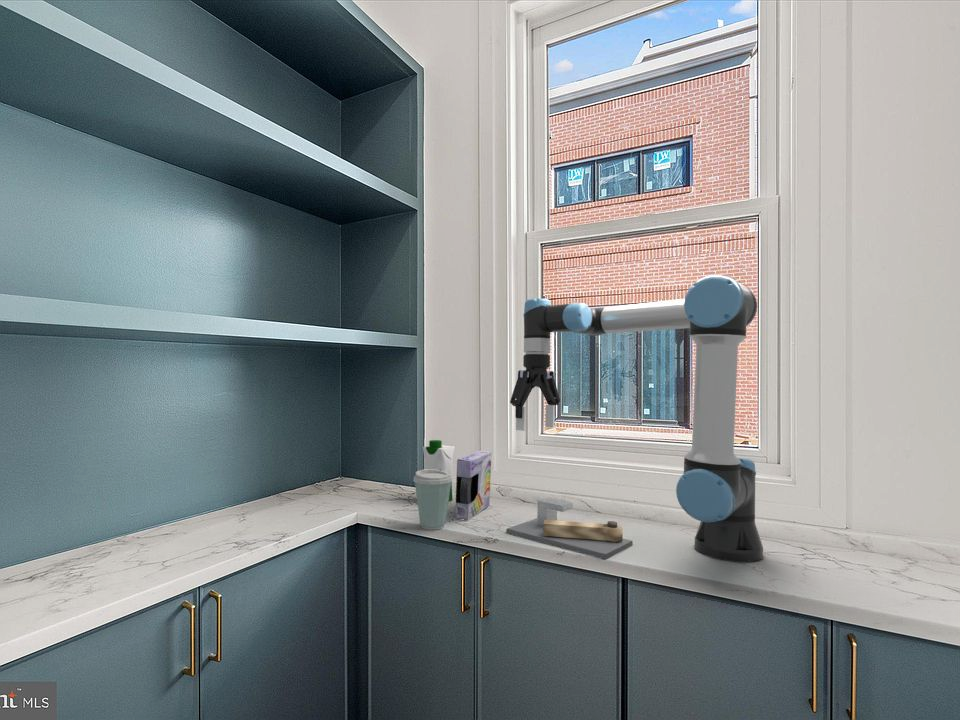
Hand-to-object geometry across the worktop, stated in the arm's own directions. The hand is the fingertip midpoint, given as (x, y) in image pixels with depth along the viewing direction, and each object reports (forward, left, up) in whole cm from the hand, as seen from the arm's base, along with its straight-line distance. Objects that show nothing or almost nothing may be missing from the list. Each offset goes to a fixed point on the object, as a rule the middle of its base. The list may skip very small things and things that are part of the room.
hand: (535, 429), depth 151 cm
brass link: (-18, +5, -25) cm, 31 cm away
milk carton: (+39, 0, -27) cm, 47 cm away
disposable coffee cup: (+19, +22, -27) cm, 39 cm away
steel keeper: (-7, +1, -27) cm, 28 cm away
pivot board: (-14, +5, -27) cm, 31 cm away
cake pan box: (+21, +3, -27) cm, 34 cm away
